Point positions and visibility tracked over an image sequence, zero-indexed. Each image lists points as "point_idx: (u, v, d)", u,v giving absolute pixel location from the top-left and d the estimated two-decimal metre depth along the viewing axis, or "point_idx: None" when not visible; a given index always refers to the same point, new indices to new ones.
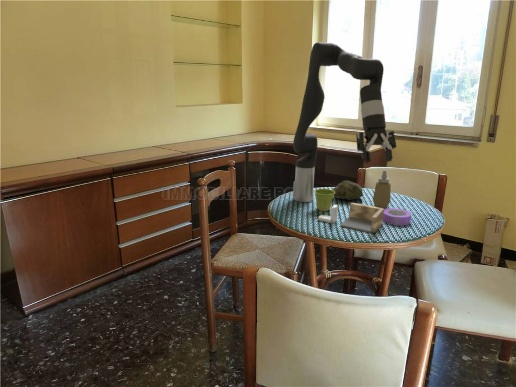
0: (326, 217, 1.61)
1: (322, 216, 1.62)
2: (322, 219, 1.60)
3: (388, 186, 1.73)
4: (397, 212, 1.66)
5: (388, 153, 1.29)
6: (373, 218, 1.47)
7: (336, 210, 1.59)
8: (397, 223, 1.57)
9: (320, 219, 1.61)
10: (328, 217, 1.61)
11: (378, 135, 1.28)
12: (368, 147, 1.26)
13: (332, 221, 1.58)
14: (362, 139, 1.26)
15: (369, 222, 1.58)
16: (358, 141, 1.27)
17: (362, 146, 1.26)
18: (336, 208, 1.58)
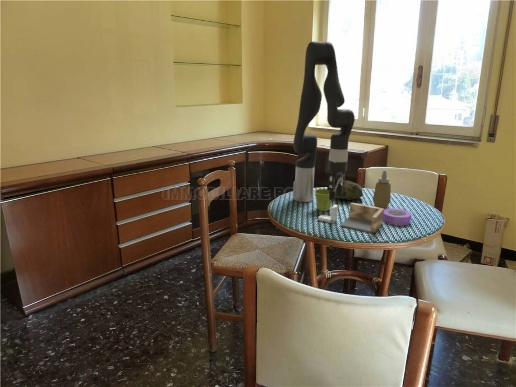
0: (326, 217, 1.61)
1: (322, 216, 1.62)
2: (322, 219, 1.60)
3: (388, 186, 1.73)
4: (397, 212, 1.66)
5: (340, 189, 1.59)
6: (373, 218, 1.47)
7: (336, 210, 1.59)
8: (397, 223, 1.57)
9: (320, 219, 1.61)
10: (328, 217, 1.61)
11: (339, 176, 1.54)
12: (335, 188, 1.51)
13: (332, 221, 1.58)
14: (334, 182, 1.49)
15: (369, 222, 1.58)
16: (330, 183, 1.49)
17: (333, 188, 1.49)
18: (336, 208, 1.58)
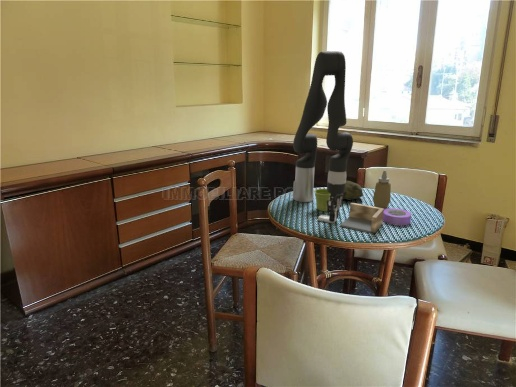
0: (326, 217, 1.61)
1: (322, 216, 1.62)
2: (322, 219, 1.60)
3: (388, 186, 1.73)
4: (397, 212, 1.66)
5: (337, 212, 1.60)
6: (373, 218, 1.47)
7: (336, 210, 1.59)
8: (397, 223, 1.57)
9: (320, 219, 1.61)
10: (328, 217, 1.61)
11: (338, 197, 1.57)
12: (335, 210, 1.56)
13: None
14: (333, 206, 1.53)
15: (369, 222, 1.58)
16: (329, 207, 1.53)
17: (333, 211, 1.54)
18: (336, 208, 1.58)
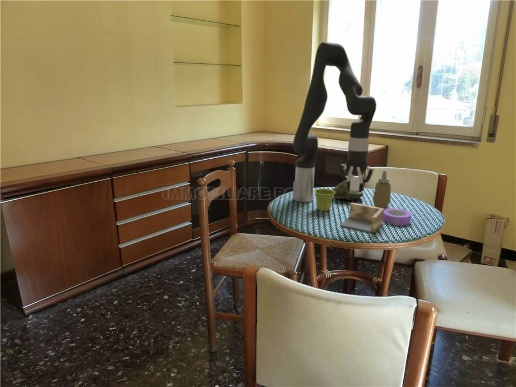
0: None
1: None
2: None
3: (388, 186, 1.73)
4: (397, 212, 1.66)
5: None
6: (373, 218, 1.47)
7: (356, 181, 1.48)
8: (397, 223, 1.57)
9: None
10: None
11: (356, 167, 1.47)
12: (348, 178, 1.49)
13: None
14: (342, 171, 1.50)
15: (369, 222, 1.58)
16: None
17: (343, 177, 1.50)
18: (356, 179, 1.48)
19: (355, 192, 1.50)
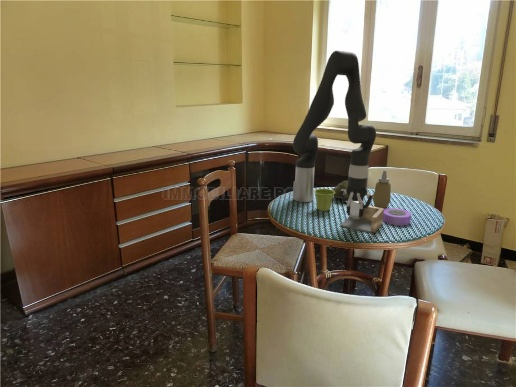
0: None
1: None
2: None
3: (388, 186, 1.73)
4: (397, 212, 1.66)
5: None
6: (373, 218, 1.47)
7: (356, 206, 1.52)
8: (397, 223, 1.57)
9: None
10: None
11: (356, 193, 1.50)
12: (348, 203, 1.53)
13: None
14: (342, 196, 1.54)
15: (369, 222, 1.58)
16: None
17: (343, 202, 1.54)
18: (356, 204, 1.52)
19: (355, 217, 1.53)
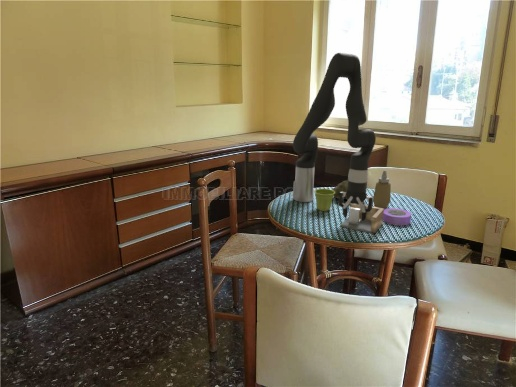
0: None
1: None
2: None
3: (388, 186, 1.73)
4: (397, 212, 1.66)
5: None
6: (373, 218, 1.47)
7: (355, 213, 1.53)
8: (397, 223, 1.57)
9: None
10: None
11: (356, 197, 1.51)
12: (345, 205, 1.54)
13: None
14: (340, 198, 1.54)
15: (369, 222, 1.58)
16: None
17: (340, 204, 1.55)
18: (355, 211, 1.53)
19: (354, 223, 1.54)
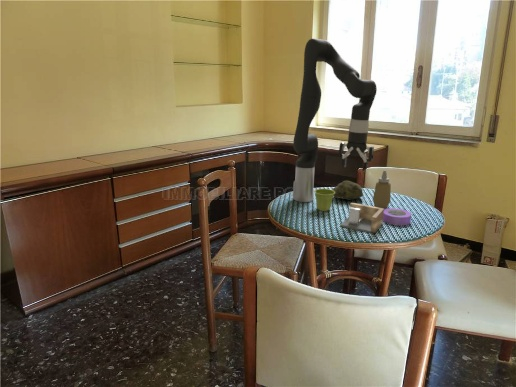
0: None
1: None
2: None
3: (388, 186, 1.73)
4: (397, 212, 1.66)
5: None
6: (373, 218, 1.47)
7: (355, 213, 1.53)
8: (397, 223, 1.57)
9: None
10: None
11: (356, 148, 1.54)
12: (344, 156, 1.57)
13: None
14: (340, 148, 1.57)
15: (369, 222, 1.58)
16: None
17: (339, 154, 1.58)
18: (355, 211, 1.53)
19: (354, 223, 1.54)
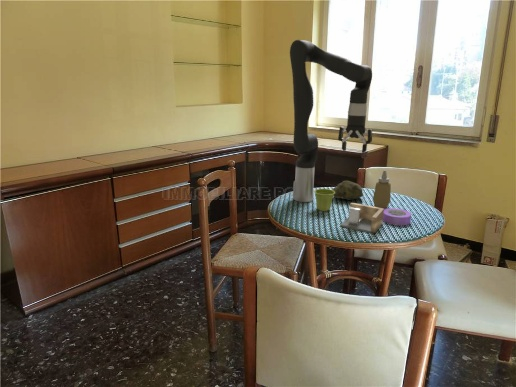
0: None
1: None
2: None
3: (388, 186, 1.73)
4: (397, 212, 1.66)
5: None
6: (373, 218, 1.47)
7: (355, 213, 1.53)
8: (397, 223, 1.57)
9: None
10: None
11: (355, 131, 1.61)
12: (344, 139, 1.64)
13: None
14: (340, 132, 1.64)
15: (369, 222, 1.58)
16: None
17: (339, 138, 1.65)
18: (355, 211, 1.53)
19: (354, 223, 1.54)
